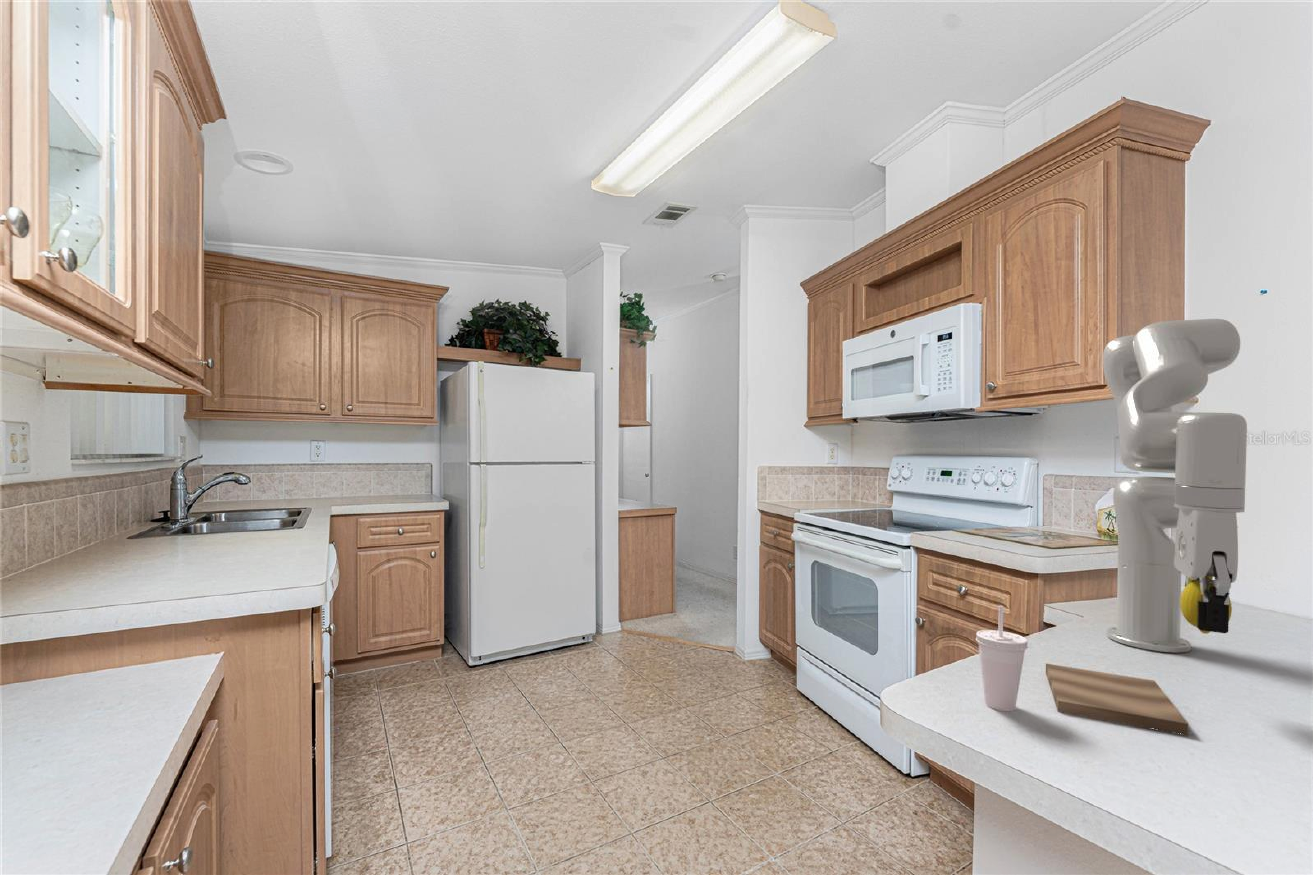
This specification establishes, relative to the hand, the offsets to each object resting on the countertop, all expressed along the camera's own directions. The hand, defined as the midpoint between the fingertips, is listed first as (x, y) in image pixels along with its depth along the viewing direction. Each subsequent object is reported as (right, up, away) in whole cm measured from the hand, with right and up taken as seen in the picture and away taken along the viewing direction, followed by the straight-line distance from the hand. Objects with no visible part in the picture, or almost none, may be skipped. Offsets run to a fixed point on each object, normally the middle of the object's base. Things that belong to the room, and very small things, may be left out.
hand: (1205, 623), depth 89 cm
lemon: (0, -2, 0) cm, 2 cm away
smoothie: (-31, -11, -2) cm, 33 cm away
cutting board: (-13, -11, +1) cm, 18 cm away
